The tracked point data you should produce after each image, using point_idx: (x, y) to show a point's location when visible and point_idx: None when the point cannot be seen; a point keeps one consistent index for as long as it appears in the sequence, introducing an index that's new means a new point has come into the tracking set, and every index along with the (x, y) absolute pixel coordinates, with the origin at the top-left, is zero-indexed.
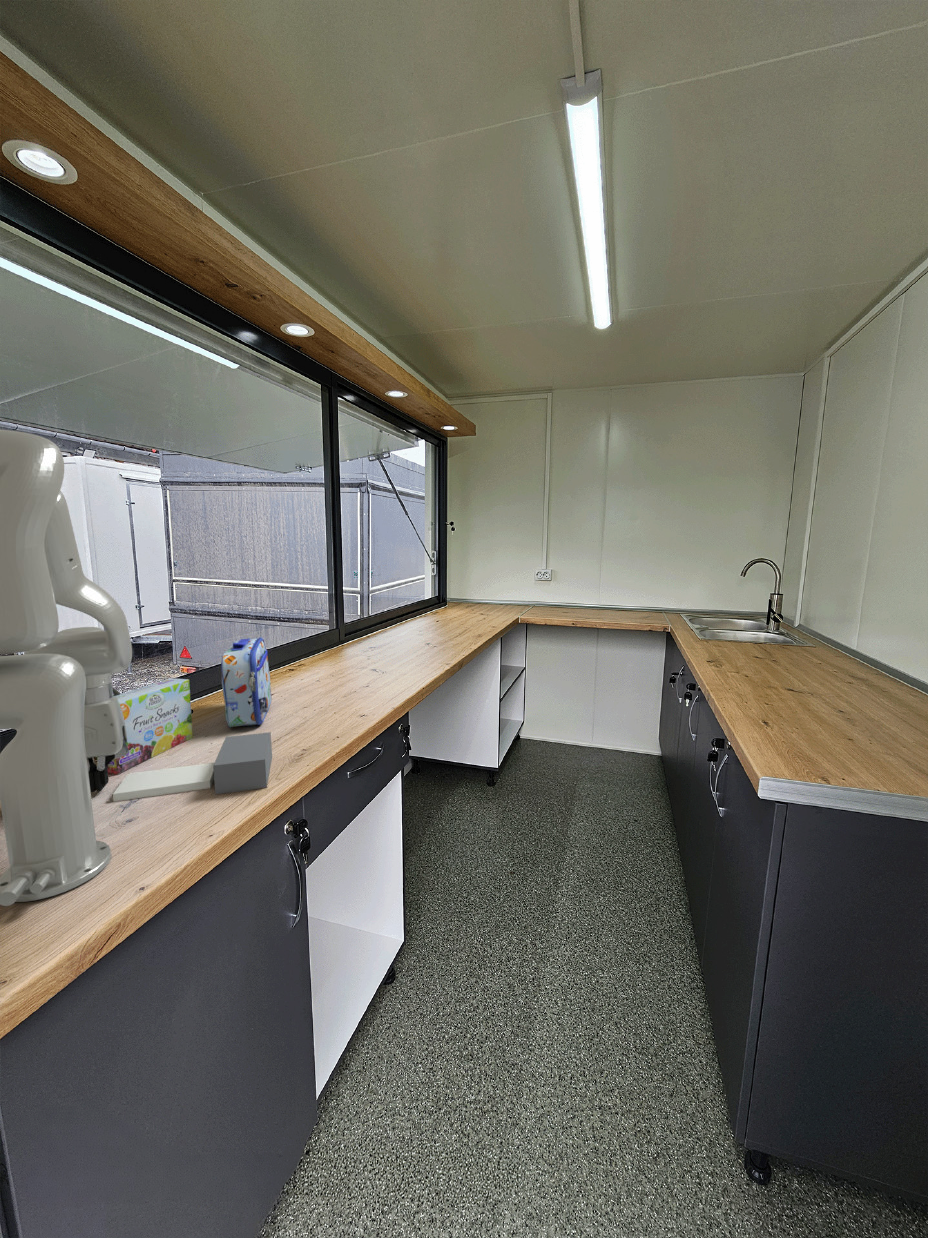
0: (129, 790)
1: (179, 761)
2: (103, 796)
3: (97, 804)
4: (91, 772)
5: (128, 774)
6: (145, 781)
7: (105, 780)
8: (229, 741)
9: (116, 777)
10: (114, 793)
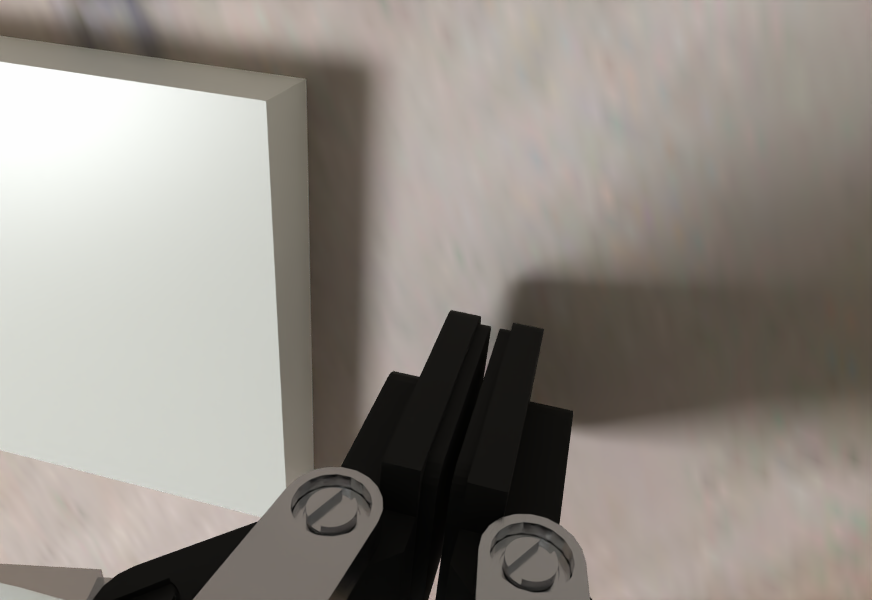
0: (121, 116)
1: None
2: (439, 263)
3: (452, 87)
4: (466, 484)
5: None
6: (63, 275)
7: (380, 395)
8: None
9: None
10: (252, 109)
